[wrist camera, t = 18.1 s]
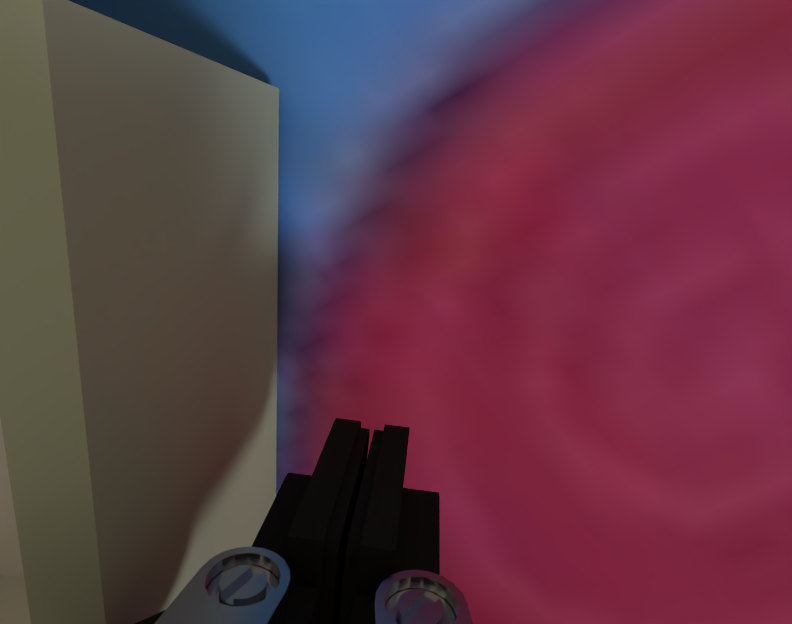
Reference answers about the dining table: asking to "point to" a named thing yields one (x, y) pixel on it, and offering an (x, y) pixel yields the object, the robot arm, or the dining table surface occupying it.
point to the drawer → (130, 314)
